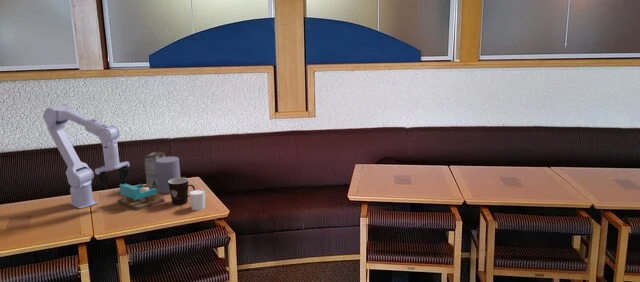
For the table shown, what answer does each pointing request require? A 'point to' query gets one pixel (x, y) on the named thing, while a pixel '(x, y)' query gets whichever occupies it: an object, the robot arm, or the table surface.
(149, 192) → the teal c-shaped bracket
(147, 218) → the table surface
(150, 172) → the coffee box
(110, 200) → the table surface
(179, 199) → the coffee mug
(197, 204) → the white cylinder
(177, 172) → the container
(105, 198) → the table surface
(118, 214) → the table surface
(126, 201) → the stand
